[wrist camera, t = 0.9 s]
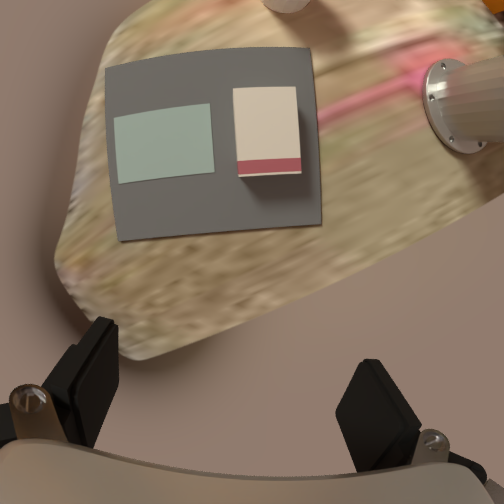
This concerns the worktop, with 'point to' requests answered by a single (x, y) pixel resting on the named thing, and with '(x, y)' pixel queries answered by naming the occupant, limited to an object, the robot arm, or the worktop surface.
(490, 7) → the cereal box
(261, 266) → the worktop surface
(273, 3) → the white cup
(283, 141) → the card box
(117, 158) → the mat
